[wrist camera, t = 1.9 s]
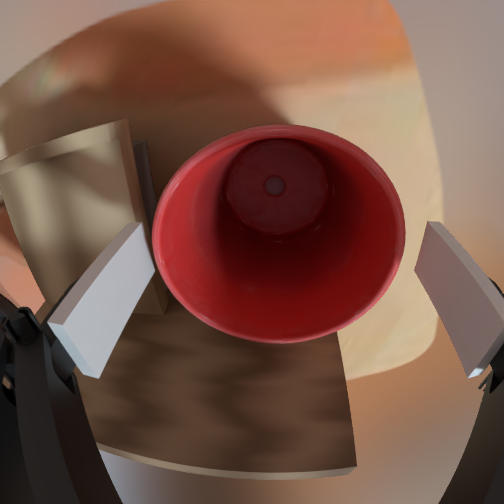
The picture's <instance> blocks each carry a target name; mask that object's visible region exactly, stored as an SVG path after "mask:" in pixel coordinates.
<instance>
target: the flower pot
mask: <svg viewBox="0 0 504 504" xmlns="http://www.w3.org/2000/svg"><path fill="white" fill-rule="evenodd" d="M404 246H405V220H404V213H403V209H402V205H401V202H400V199H399V196H398V194H397V192H396V189H395V187H394V185H393V183H392V182H391V180H390V179H389V177H388V176H387V175H386V173H385V172H384V170H383V169H382V168H381V167H380V166H379V165H378V164H377V162H376V161H375V160H374V159H373V158H372V157H370V156H369V155H368V154H367V153H366V152H365V151H363V150H362V149H360V148H359V147H358V146H356V145H354V144H353V143H351V142H349V141H347V140H346V139H343V138H341V137H339V136H337V135H334V134H332V133H329V132H326V131H323V130H320V129H316V128H311V127H306V126H300V125H288V124H273V125H263V126H256V127H251V128H247V129H243V130H240V131H237V132H234V133H231V134H228V135H226V136H223V137H221V138H219V139H217V140H215V141H213V142H211V143H210V144H208V145H206V146H205V147H203V148H202V149H200V150H199V151H197V152H196V153H195V154H194V155H192V156H191V157H190V158H189V159H188V160H187V161H185V162H184V163H183V164H182V165H181V167H180V168H179V169H178V170H177V171H176V173H175V174H174V175H173V176H172V178H171V179H170V181H169V182H168V184H167V185H166V187H165V189H164V191H163V193H162V195H161V197H160V199H159V202H158V205H157V208H156V211H155V215H154V220H153V226H152V247H153V253H154V257H155V261H156V264H157V267H158V269H159V272H160V274H161V276H162V278H163V280H164V282H165V284H166V285H167V287H168V288H169V290H170V291H171V292H172V294H173V295H174V296H175V298H176V299H177V300H178V301H179V302H180V303H181V304H182V305H183V306H184V307H185V308H186V309H187V310H188V311H189V312H191V313H192V314H193V315H194V316H195V317H197V318H198V319H200V320H201V321H203V322H205V323H206V324H208V325H209V326H211V327H213V328H215V329H217V330H220V331H222V332H224V333H227V334H229V335H232V336H235V337H238V338H242V339H246V340H250V341H255V342H262V343H295V342H301V341H307V340H311V339H315V338H319V337H322V336H325V335H328V334H330V333H333V332H335V331H338V330H340V329H342V328H344V327H346V326H347V325H349V324H351V323H353V322H354V321H356V320H357V319H358V318H360V317H361V316H362V315H364V314H365V313H366V312H367V311H368V310H370V309H371V308H372V307H373V306H374V305H375V304H376V303H377V302H378V301H379V300H380V298H381V297H382V296H383V295H384V293H385V292H386V291H387V289H388V288H389V286H390V284H391V283H392V281H393V279H394V277H395V275H396V273H397V271H398V268H399V265H400V262H401V259H402V256H403V252H404Z"/></svg>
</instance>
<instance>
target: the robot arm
mask: <svg viewBox="0 0 504 504" xmlns="http://www.w3.org/2000/svg"><path fill="white" fill-rule="evenodd" d="M414 271H415V273H416V274H417V276H418V278H419V279H420V281H421V283H422V285H423V286H424V288H425V290H426V292H427V294H428V295H429V297H430V299H431V301H432V303H433V305H434V306H435V308H436V310H437V312H438V314H439V316H440V318H441V320H442V322H443V324H444V326H445V328H446V330H447V332H448V334H449V336H450V338H451V341H452V343H453V345H454V347H455V349H456V351H457V354H458V356H459V358H460V361H461V363H462V365H463V368H464V370H465V373H466V375H467V378H470V377H473V376H477V375H480V374H482V373H483V372H484V370H485V369H486V368H487V366H488V365H489V364H490V365H491V367H492V371H491V372H490V373H489V374H488V376H487V377H486V378H485V379H484V380H483V382H482V383H481V384H480V386H479V389H481V388H482V387H483V385H484V384H486V387H485V389H484V390H483V391H484V395H483V399H482V402H481V405H480V409H479V412H478V415H477V418H476V421H475V425H474V427H473V430H472V433H471V436H470V438H469V441H468V443H467V446H466V448H465V451H464V453H463V456H462V458H461V460H460V463H459V465H458V467H457V469H456V471H455V474H454V476H453V478H452V480H451V482H450V484H449V485H448V487H447V489H446V491H445V493H444V495H443V497H442V498H441V500H440V502H439V504H504V294H502V291H501V290H500V288H499V287H498V285H497V284H496V283H495V282H494V281H492V280H491V279H490V278H489V277H487V275H486V274H485V273H484V272H483V270H482V269H481V268H480V267H479V265H478V264H477V263H476V262H475V261H474V259H473V258H472V257H471V256H470V255H469V253H468V252H467V251H466V250H465V249H464V248H463V246H462V245H461V244H460V243H459V242H458V241H457V240H456V239H455V238H454V236H453V235H452V234H451V233H450V232H449V231H448V230H447V229H446V228H445V227H444V226H443V225H442V224H441V223H440V222H430V221H427V225H426V229H425V233H424V237H423V241H422V245H421V249H420V252H419V256H418V260H417V263H416V266H415V270H414ZM154 272H155V269H154V266H153V262H152V258H151V255H150V251H149V247H148V244H147V240H146V236H145V232H144V228H143V224H142V222H135V223H128V224H127V225H126V226H125V227H124V228H123V229H122V230H121V231H120V232H119V233H118V235H117V236H116V237H115V238H114V239H113V240H112V241H111V242H110V243H109V245H108V246H107V247H106V248H105V249H104V250H103V251H102V253H101V254H100V255H99V256H98V257H97V258H96V260H95V261H94V262H93V263H92V264H91V265H90V267H89V268H88V269H87V270H86V271H85V273H84V274H83V275H82V276H81V278H79V279H77V280H76V281H75V282H73V283H72V284H71V285H70V286H69V287H68V288H67V290H66V291H65V292H64V295H62V296H61V297H60V299H59V300H58V302H57V303H56V304H55V305H54V307H53V308H52V309H51V311H50V312H49V313H48V315H47V316H46V317H45V319H44V320H43V322H42V323H41V324H39V322H38V320H37V319H36V317H35V316H34V314H33V312H32V311H31V309H30V308H28V307H21V308H18V309H17V308H16V307H15V306H13V305H12V304H11V303H10V302H9V301H8V300H6V299H5V298H4V297H2V296H1V295H0V504H123V503H122V501H121V499H120V497H119V495H118V493H117V491H116V489H115V487H114V485H113V483H112V481H111V478H110V476H109V474H108V472H107V469H106V467H105V465H104V462H103V460H102V457H101V455H100V452H99V450H98V447H97V444H96V442H95V439H94V436H93V433H92V430H91V427H90V424H89V421H88V418H87V415H86V411H85V408H84V404H83V401H82V397H81V393H80V390H79V386H78V381H77V377H76V375H75V373H74V372H73V370H74V368H75V366H76V365H77V367H78V368H79V369H80V371H81V372H82V373H83V375H87V376H91V377H94V378H98V379H99V377H100V375H101V373H102V371H103V369H104V367H105V365H106V363H107V361H108V358H109V356H110V354H111V352H112V350H113V348H114V346H115V344H116V342H117V340H118V338H119V336H120V334H121V332H122V330H123V329H124V327H125V325H126V323H127V321H128V319H129V317H130V315H131V313H132V311H133V310H134V308H135V306H136V304H137V302H138V300H139V299H140V297H141V295H142V293H143V291H144V290H145V288H146V286H147V284H148V283H149V281H150V279H151V277H152V276H153V274H154ZM4 377H5V378H6V380H7V381H8V382H9V383H10V388H9V389H8V388H7V387H6V386H5V385H4V384H3V378H4Z"/></svg>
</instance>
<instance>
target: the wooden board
mask: <svg viewBox="0 0 504 504" xmlns="http://www.w3.org/2000/svg"><path fill="white" fill-rule="evenodd" d="M166 294H167V297H168V301H169V303H168V306H167V308H166V311H165V313H164V315H152V314H139V313H131V315H130V317H129V319H128V321H127V323H126V325H125V327H124V329H123V330H122V332H121V334H120V336H119V338H118V340H117V342H116V344H115V346H114V348H113V350H112V352H111V354H110V356H109V358H108V361H107V363H106V365H105V367H104V369H103V371H102V373H101V375H100V377H99V379H98V378H94V377H91V376H87V375H83V373H82V372H81V371H80V369H79V368H78V367H77V365H76V366H75V368H74V370H73V372H74V373H75V375H76V377H77V381H78V386H79V390H80V393H81V397H82V401H83V404H84V408H85V411H86V415H87V418H88V421H89V424H90V427H91V430H92V433H93V436H94V439H95V442H96V444H97V447H98V449H99V450H102V451H105V452H108V453H111V454H114V455H117V456H121V457H124V458H128V459H131V460H134V461H138V462H142V463H146V464H150V465H154V466H158V467H163V468H168V469H173V470H178V471H184V472H190V473H196V474H203V475H211V476H219V477H229V478H243V479H270V480H281V479H308V478H322V477H331V476H341V475H347V474H349V473H350V472H351V471H352V470H354V469H355V468H356V467H357V463H356V453H355V444H354V435H353V427H352V420H351V412H350V405H349V399H348V392H347V386H346V380H345V374H344V368H343V362H342V357H341V351H340V346H339V341H338V336H337V331H335V332H333V333H330V334H328V335H325V336H322V337H319V338H315V339H311V340H307V341H301V342H295V343H262V342H255V341H250V340H246V339H242V338H238V337H235V336H232V335H229V334H227V333H224V332H222V331H220V330H217V329H215V328H213V327H211V326H209V325H208V324H206V323H205V322H203V321H201V320H200V319H198V318H197V317H195V316H194V315H193V314H192V313H191V312H189V311H188V310H187V309H186V308H185V307H184V306H183V305H182V304H181V303H180V302H179V301H178V300H177V299H176V298H175V296H174V295H173V294H172V292H171V291H170V290H169V288H168V287H167V290H166ZM54 305H55V304H49V303H47V302H46V301H45V302H44V303H43V305H42V306H41V308H40V309H39V310H38V311H37V313H36V314H35V315H34V316H35V317H36V319H37V320H38V322H39V324H41V323H42V322H43V320H44V319H45V317H46V316H47V315H48V313H49V312H50V311H51V309H52V308H53V307H54ZM3 384H4V385H5V386H6V387H7V388H8V389H9V388H10V383H9V382H8V381H7V380H6V378H5V377H4V378H3Z"/></svg>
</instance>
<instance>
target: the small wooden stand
mask: <svg viewBox="0 0 504 504" xmlns="http://www.w3.org/2000/svg"><path fill="white" fill-rule="evenodd" d="M0 188H1V192H2V195H3V199H4V202H5V205H6V209H7V212H8V215H9V218H10V221H11V223H12V226H13V229H14V232H15V234H16V237H17V240H18V242H19V245H20V247H21V250H22V252H23V254H24V257H25V259H26V261H27V263H28V266H29V268H30V270H31V272H32V274H33V276H34V279H35V280H36V283H37V285H38V287H39V288H40V291H41V293H42V294H43V296H44V298H45V300H46V302H47V303H49V304H56V303H57V302H58V300H59V299H60V297H61V296H62V295H64V292H65V291H66V290H67V288H68V287H69V286H70V285H71V284H72V283H73V282H75V281H76V280H77V279H79V278H81V276H82V275H83V274H84V273H85V271H86V270H87V269H88V268H89V267H90V265H91V264H92V263H93V262H94V261H95V260H96V258H97V257H98V256H99V255H100V254H101V253H102V251H103V250H104V249H105V248H106V247H107V246H108V245H109V243H110V242H111V241H112V240H113V239H114V238H115V237H116V236H117V235H118V233H119V232H120V231H121V230H122V229H123V228H124V227H125V226H126V225H127V224H128V223H135V222H142V224H143V228H144V232H145V236H146V240H147V244H148V247H149V251H150V255H151V258H152V262H153V266H154V269H155V272H154V274H153V276H152V277H151V279H150V281H149V283H148V284H147V286H146V288H145V290H144V291H143V293H142V295H141V297H140V299H139V300H138V302H137V304H136V306H135V308H134V310H133V311H132V313H139V314H152V315H164V313H165V311H166V308H167V306H168V303H169V301H168V297H167V294H166V290H167V285H166V284H165V282H164V280H163V278H162V276H161V274H160V272H159V269H158V267H157V264H156V261H155V257H154V253H153V247H152V226H153V220H154V215H155V211H156V208H157V203H156V198H155V193H154V188H153V182H152V177H151V171H150V165H149V159H148V152H147V146H146V140H143V141H137V142H132V139H131V132H130V125H129V118H126V119H122V120H117V121H113V122H109V123H105V124H101V125H98V126H94V127H90V128H87V129H83V130H80V131H77V132H73V133H70V134H67V135H64V136H61V137H58V138H55V139H52V140H49V141H47V142H44V143H41V144H38V145H36V146H33V147H31V148H28V149H26V150H23V151H21V152H18V153H16V154H14V155H11V156H9V157H7V158H5V159H3V160H1V161H0Z"/></svg>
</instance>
